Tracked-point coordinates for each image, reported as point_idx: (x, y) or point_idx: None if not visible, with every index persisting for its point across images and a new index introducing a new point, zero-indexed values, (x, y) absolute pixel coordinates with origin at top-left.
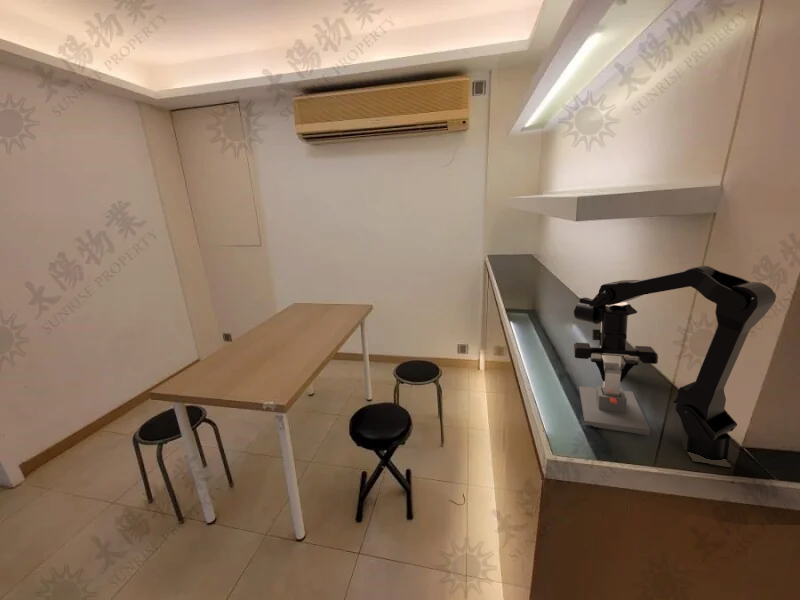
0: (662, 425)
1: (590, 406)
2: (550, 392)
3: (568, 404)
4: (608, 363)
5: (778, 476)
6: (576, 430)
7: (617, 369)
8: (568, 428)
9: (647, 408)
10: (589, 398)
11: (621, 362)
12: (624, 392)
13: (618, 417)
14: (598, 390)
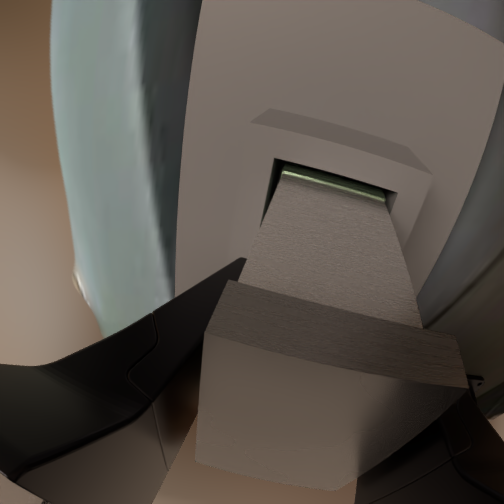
0: (461, 293)
1: (214, 202)
2: (80, 34)
3: (137, 135)
4: (288, 387)
5: (493, 414)
6: (156, 308)
7: (311, 482)
8: (135, 298)
9: (500, 172)
10: (229, 114)
11: (439, 488)
12: (470, 44)
13: None
14: (241, 201)
